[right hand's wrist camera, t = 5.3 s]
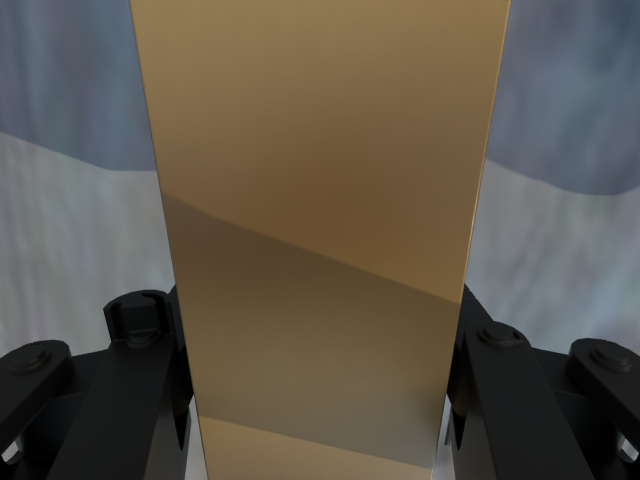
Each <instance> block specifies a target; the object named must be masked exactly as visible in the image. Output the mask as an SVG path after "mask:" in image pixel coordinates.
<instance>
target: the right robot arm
mask: <svg viewBox="0 0 640 480" xmlns="http://www.w3.org/2000/svg"><path fill="white" fill-rule="evenodd" d="M103 311H104V315H105V319H106V323H107V327H108V330H109V334H110V338H111V343H110V346H109V348H108V349H106V350H102V351H97V352H92V353H87V354H82V355H77V356H72V355H71V352H70V349H69V345H67V344H66V343H65V342H63V341H58V340H45V341H37V342H33V343H29V344H26V345H23V346H22V347H20V348H18V349H15V350H13V351H11V352H9V353H8V354H6V355H5V356H3V357H2V358H0V480H185V471H186V463H187V454H188V446H189V437H190V429H191V416H190V410H189V404H190V401H191V399H192V397H193V394H194V392H193V386H192V380H191V374H190V367H189V361H188V355H187V349H186V343H185V337H184V331H183V325H182V319H181V313H180V307H179V301H178V295H177V289H176V284H175V285H174V287H173V288H172V289H171V291H170V293H168V294H167V293H165V292H163V291H159V290H141V291H135V292H131V293H128V294H125V295H122V296H119V297H117V298H116V299H114V300H112V301H111V302H109V303H108V304H107V305H106V306H105V307H104V308H103ZM446 393H447V395H448V398H449V400H450V403H451V410H450V415H449V421H448V427H447V432H446V438H445V445H448V446H450V440H451V445H452V453H453V462H454V471H455V479H456V480H640V356H638V355H637V354H635V353H634V352H632V351H631V350H629V349H627V348H624V347H622V346H620V345H618V344H616V343H614V342H610V341H609V342H608V341H607V340H602V339H592V338H584V339H577V340H576V341H575V342H573V343H572V344H571V348H570V351H569V354H568V355H566V354H561V353H556V352H551V351H546V350H541V349H537V348H533V347H531V345H530V343H529V341H528V340H527V338H526V337H525V336H524V335H523V334H522V333H521V332H519V331H518V330H516V329H515V328H513V327H511V326H509V325H506V324H504V323H501V322H496V321H493V320H492V318H491V317H490V316H489V314H488V313H487V312H486V310H485V309H484V308H483V306H482V305H481V304H480V303H479V301H478V300H477V299H475V296H474V295H473V293H472V292H471V291H469V288H468V287H467V286H466V284H465V283H464V289H463V295H462V301H461V307H460V313H459V319H458V325H457V331H456V337H455V343H454V349H453V355H452V361H451V367H450V373H449V379H448V385H447V392H446ZM625 439H627V440H628V441H629V443H630V444H631V445H632V446H633V447H634V448H635V449H636V450H637V451H638V453H639V455H638V457H637V459H636V460H635V461H634V460H632V459H631V458H630V457H629V456H628V455H627V454H626V453H625V451H624V450H623V449H622V446H623V443H624V441H625ZM14 441H15V442H16V444H17V447H18V449H19V450H18V451H17V452H16V453H15V455H14V456H13V457H12V458H10V459H9V460H8V461H7V462H5V461H4V460H3V458H2V454H3V453H4V452H5V451H6V449H7V448H8V447H9V446H10V445H11V444H12V443H13V442H14Z"/></svg>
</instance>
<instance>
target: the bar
mask: <svg viewBox="0 0 640 480" xmlns="http://www.w3.org/2000/svg"><path fill="white" fill-rule="evenodd" d="M129 4H130V10H131V16H132V22H133V28H134V34H135V40H136V46H137V52H138V58H139V65H140V71H141V77H142V83H143V89H144V95H145V101H146V107H147V113H148V119H149V125H150V131H151V137H152V143H153V149H154V155H155V161H156V168H157V174H158V180H159V186H160V192H161V198H162V204H163V210H164V216H165V222H166V228H167V234H168V240H169V246H170V252H171V258H172V264H173V271H174V277H175V283H176V289H177V295H178V301H179V307H180V313H181V319H182V325H183V331H184V337H185V343H186V349H187V355H188V361H189V367H190V374H191V380H192V386H193V392H194V398H195V404H196V410H197V416H198V422H199V428H200V434H201V440H202V446H203V452H204V458H205V464H206V470H207V477H208V480H432V476H433V470H434V464H435V458H436V452H437V446H438V440H439V434H440V428H441V422H442V416H443V410H444V404H445V398H446V392H447V385H448V379H449V373H450V367H451V361H452V355H453V349H454V343H455V337H456V331H457V325H458V319H459V313H460V307H461V301H462V295H463V289H464V283H465V277H466V270H467V264H468V258H469V252H470V246H471V240H472V234H473V228H474V222H475V216H476V210H477V204H478V198H479V192H480V186H481V180H482V174H483V168H484V162H485V156H486V149H487V143H488V137H489V131H490V125H491V119H492V113H493V107H494V101H495V95H496V89H497V83H498V77H499V71H500V65H501V59H502V53H503V47H504V41H505V34H506V28H507V22H508V16H509V10H510V4H511V0H129Z"/></svg>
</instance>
